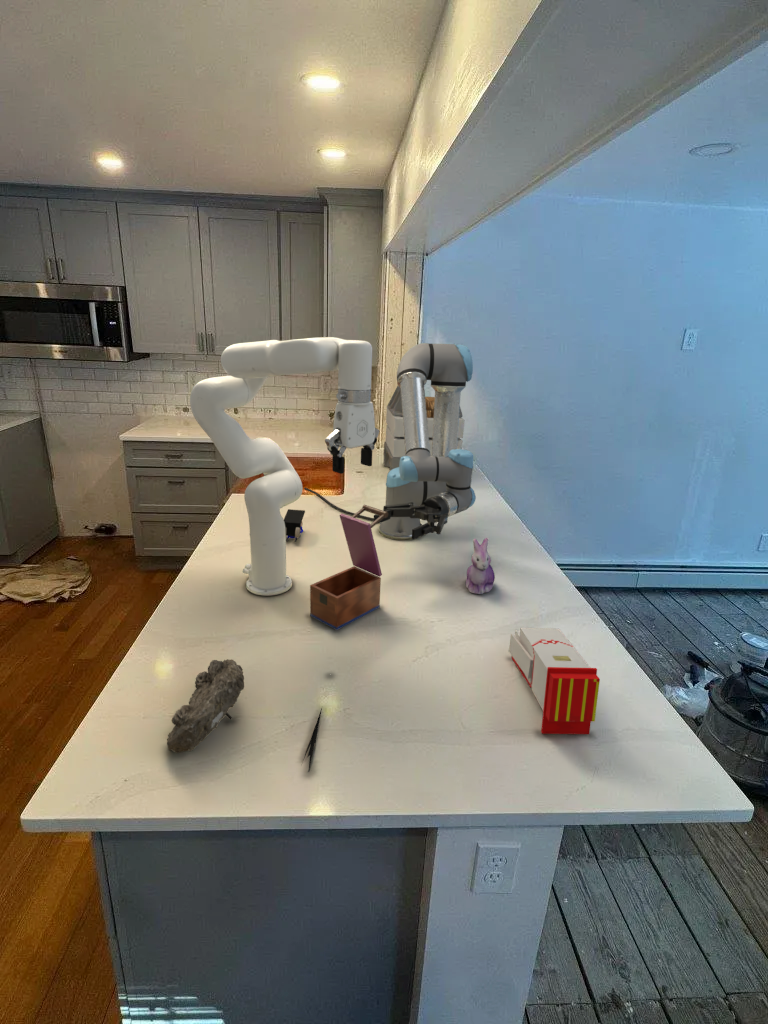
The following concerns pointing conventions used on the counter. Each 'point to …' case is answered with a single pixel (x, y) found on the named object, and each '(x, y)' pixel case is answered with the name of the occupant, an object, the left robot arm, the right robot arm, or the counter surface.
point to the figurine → (480, 569)
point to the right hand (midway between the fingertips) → (393, 527)
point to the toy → (557, 679)
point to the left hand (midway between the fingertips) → (352, 468)
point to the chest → (344, 597)
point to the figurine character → (293, 523)
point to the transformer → (395, 429)
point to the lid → (362, 540)
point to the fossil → (206, 705)
